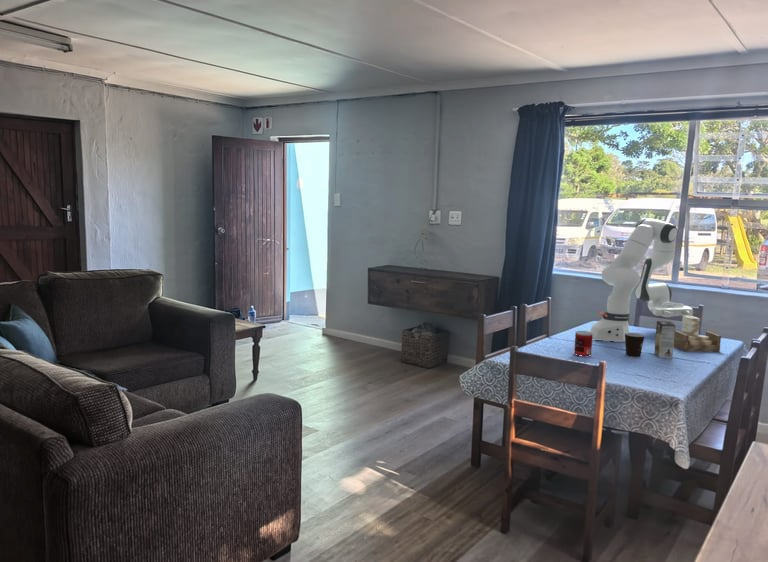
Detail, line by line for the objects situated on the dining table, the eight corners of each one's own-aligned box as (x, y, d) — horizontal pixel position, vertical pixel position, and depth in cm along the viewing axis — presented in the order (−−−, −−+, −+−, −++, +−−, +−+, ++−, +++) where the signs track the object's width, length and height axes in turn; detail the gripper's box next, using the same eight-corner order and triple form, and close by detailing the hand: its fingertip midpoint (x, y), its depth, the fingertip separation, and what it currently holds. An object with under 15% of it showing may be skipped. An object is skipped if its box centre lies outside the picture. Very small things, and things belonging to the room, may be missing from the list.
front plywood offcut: (689, 350, 285) (689, 341, 285) (686, 349, 287) (687, 340, 287) (711, 351, 286) (711, 341, 285) (708, 350, 288) (709, 340, 287)
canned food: (591, 354, 275) (592, 331, 274) (591, 358, 267) (592, 334, 266) (574, 352, 277) (575, 330, 276) (574, 356, 270) (575, 333, 269)
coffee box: (653, 353, 279) (656, 320, 277) (667, 354, 278) (670, 321, 276) (658, 357, 270) (661, 324, 268) (673, 358, 269) (676, 325, 267)
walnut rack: (684, 351, 284) (685, 335, 283) (673, 346, 294) (674, 330, 293) (719, 351, 284) (721, 336, 283) (707, 346, 294) (709, 331, 293)
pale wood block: (688, 347, 292) (691, 318, 290) (680, 343, 300) (682, 315, 298) (697, 347, 292) (699, 318, 290) (688, 343, 300) (691, 315, 298)
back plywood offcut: (686, 349, 288) (687, 336, 287) (684, 348, 290) (685, 335, 289) (708, 349, 288) (709, 337, 287) (705, 348, 290) (707, 336, 289)
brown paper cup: (634, 358, 268) (636, 337, 267) (619, 354, 276) (620, 333, 275) (651, 355, 274) (652, 335, 272) (636, 351, 281) (637, 331, 280)
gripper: (648, 303, 319) (660, 308, 306) (685, 303, 319) (698, 307, 306) (648, 315, 320) (659, 319, 307) (684, 314, 320) (698, 319, 307)
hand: (679, 313), depth 306 cm, fingers open, 8 cm apart
